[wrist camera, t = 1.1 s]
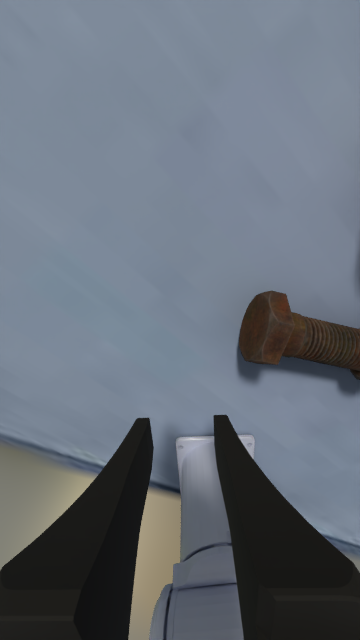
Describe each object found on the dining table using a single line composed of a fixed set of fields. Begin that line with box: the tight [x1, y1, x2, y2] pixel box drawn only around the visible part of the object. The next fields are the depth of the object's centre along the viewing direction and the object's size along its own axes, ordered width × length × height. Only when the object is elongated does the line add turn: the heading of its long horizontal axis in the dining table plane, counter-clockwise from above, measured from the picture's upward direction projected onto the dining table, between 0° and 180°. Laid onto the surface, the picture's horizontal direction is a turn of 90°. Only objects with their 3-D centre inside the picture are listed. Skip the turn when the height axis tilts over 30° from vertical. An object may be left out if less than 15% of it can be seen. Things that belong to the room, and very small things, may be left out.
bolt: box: [239, 291, 360, 380], centre depth 18 cm, size 6×5×15 cm
